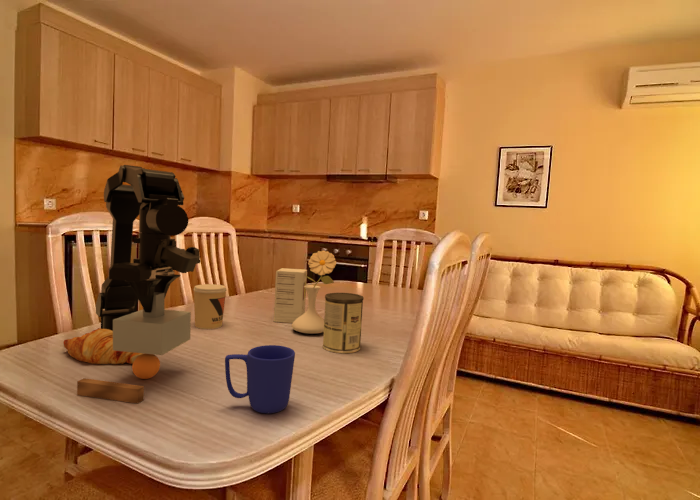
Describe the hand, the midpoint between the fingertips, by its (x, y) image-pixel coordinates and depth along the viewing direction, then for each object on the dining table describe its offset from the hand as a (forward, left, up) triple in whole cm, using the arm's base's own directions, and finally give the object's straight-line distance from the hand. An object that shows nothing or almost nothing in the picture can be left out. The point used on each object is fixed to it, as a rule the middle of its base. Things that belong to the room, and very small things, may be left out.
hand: (153, 310), depth 82 cm
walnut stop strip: (0, -11, -13) cm, 17 cm away
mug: (+26, -7, -14) cm, 30 cm away
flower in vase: (+23, +44, -14) cm, 51 cm away
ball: (0, -1, -11) cm, 11 cm away
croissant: (-16, +6, -14) cm, 22 cm away
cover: (0, 0, -7) cm, 7 cm away
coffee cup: (-8, +39, -14) cm, 42 cm away
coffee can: (+34, +32, -14) cm, 48 cm away
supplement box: (+12, +56, -14) cm, 59 cm away
